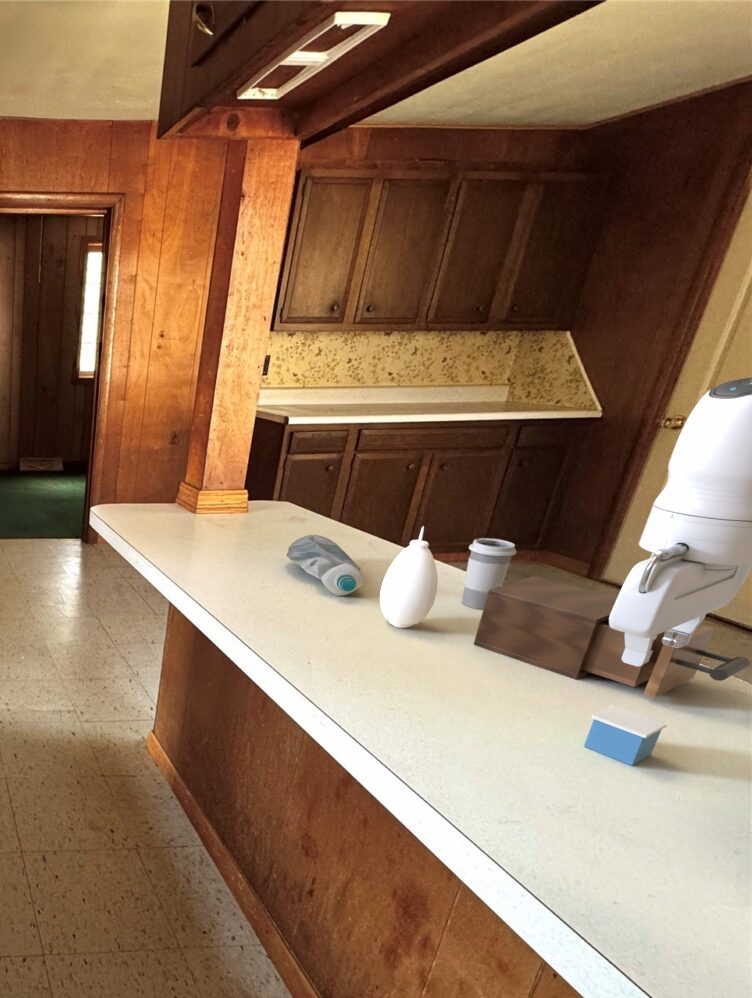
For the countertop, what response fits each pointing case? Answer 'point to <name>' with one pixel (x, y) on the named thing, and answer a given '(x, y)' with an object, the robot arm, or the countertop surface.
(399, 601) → the white air blower bulb
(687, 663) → the drawer
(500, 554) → the cup
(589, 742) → the plastic tub
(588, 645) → the cabinet
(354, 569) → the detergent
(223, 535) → the countertop surface
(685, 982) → the countertop surface
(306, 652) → the countertop surface
